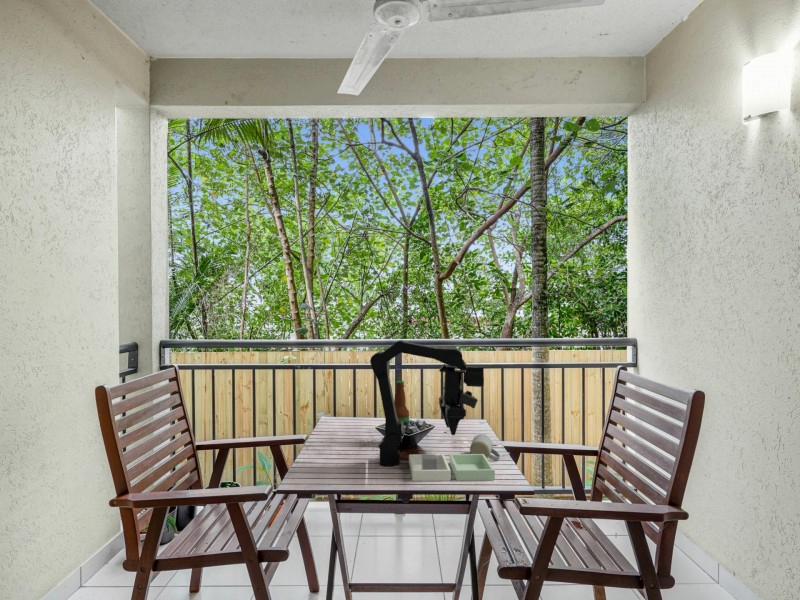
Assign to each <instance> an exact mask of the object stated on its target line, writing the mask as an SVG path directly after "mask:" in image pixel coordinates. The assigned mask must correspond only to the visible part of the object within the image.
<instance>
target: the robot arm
mask: <svg viewBox="0 0 800 600" xmlns="http://www.w3.org/2000/svg"><path fill="white" fill-rule="evenodd" d="M400 354H406V355H412V356H417V357H422V358H428V359H433V360H436V361H437V362H440V363H442V364H443V365H442V366H441V367H440V368H439V372H442V373H444V380H443V381H444V383H443V386H442V390H443V395H440V397H438V404H439V408H440V411H441V414H442V417H443V419H444V423H445V426H446V428H448V429H449V432H450V434H451V435H452V436H456V432H457V429H458V426H459V422H460V421H461V420H462V419H464V418H465V417H467V410H466V409H465V407H464V406H463V405H466V406H468V407H470V408H471V409H476V406H477V403H478V401H479V400H478V398H477V397H475V396H473V394H472V393H473V392H471V391H469V390H466V391H465V392H464V391H463V389H462V383H463V384H464V385H466V387H474V388H476V387H477V388H484V384H485V383H484V382H485V380H484V379H485V377H484V366H483V365H480V366H470V365H469V366H468V365H467V362H465V360H464V358H463V354H462V351H461V349H460V348H458V347H453V346H450V347H446V346H444V347H435V346H430V345H425V344H419V343H414V342H408V341H406V340H401V339H400V340H397V341H396V342H395V343H394V344H393V345H390V347H388V348H387V349H385V350H383V351H382V350H380V351H377V352H376V353H374V354H373V355H371V358H370V366H371V369H372V371H373V374H374V375H375V378H376V379H377V383H378V387H379V388H378V389H379V393H380V398H381V404H382V408H383V413H384V419H385V420H384V421H385V422H384V423H385V426H384V436H383V437H382V439H381V441H380V442H379V444H378V449H379V466H380V467H386V468H389V467H395V466H400V465H401V464H400V461H401V453H400V452H401V451H400V450H399V447H396V446H398V445H400V443H401V442H402V439H403V437H404V434H405V431H406V430H405V429H404V422H403V420H401V421H399V419H398V417H397V414H396V409H395V404H394V400H395V397H394V395H393V388H392V384H391V379H390V372H391V371H390V370H391V367H390V366H391V365H390V364H391V363H390V362H391V360H393V359H394V358H395V357H397V356H398V355H400ZM447 365H448V366H447ZM456 368H457V369H456ZM462 375H463V380H462ZM462 381H463V382H462Z"/></svg>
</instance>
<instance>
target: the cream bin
mask: <svg viewBox="0 0 800 600" xmlns="http://www.w3.org/2000/svg"><path fill="white" fill-rule="evenodd" d="M434 454H435V453H434ZM422 455H433V454H432V453H431V454H429V453H425V454H424V453H421V454H412V453H411V454H409V455H408V465H409V469H410V475H411V479H412V482H451V481H452V476H451V475H452V473H451V472H452V471H451V470H452V469H451V467H450V464H449V463H448V461H447V458H446V457H445V454H443V453H440V454H439V453H438V454H437V453H436V454H435V456H436V458H437V470H421V465H422Z"/></svg>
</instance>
